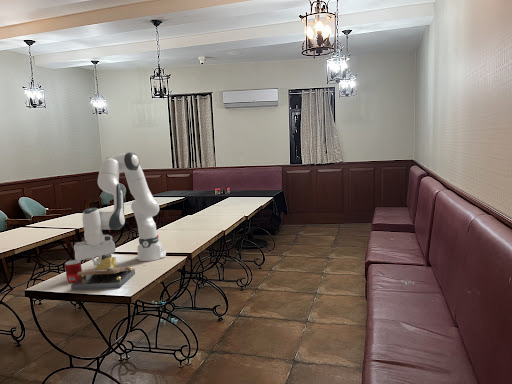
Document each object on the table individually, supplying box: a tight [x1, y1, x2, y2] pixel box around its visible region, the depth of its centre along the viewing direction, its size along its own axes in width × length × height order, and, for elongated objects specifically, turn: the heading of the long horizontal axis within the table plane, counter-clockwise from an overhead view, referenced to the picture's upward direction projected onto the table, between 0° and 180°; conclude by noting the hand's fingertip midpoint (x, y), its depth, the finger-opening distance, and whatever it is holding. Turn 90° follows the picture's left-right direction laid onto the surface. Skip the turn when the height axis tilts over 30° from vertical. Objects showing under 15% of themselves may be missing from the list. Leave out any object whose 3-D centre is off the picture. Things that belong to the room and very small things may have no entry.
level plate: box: [78, 253, 129, 275], centre depth 218 cm, size 19×20×10 cm
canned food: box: [64, 259, 83, 284], centre depth 223 cm, size 8×8×11 cm
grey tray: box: [70, 266, 136, 291], centre depth 218 cm, size 22×26×5 cm
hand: (97, 264), depth 211 cm, fingers closed
